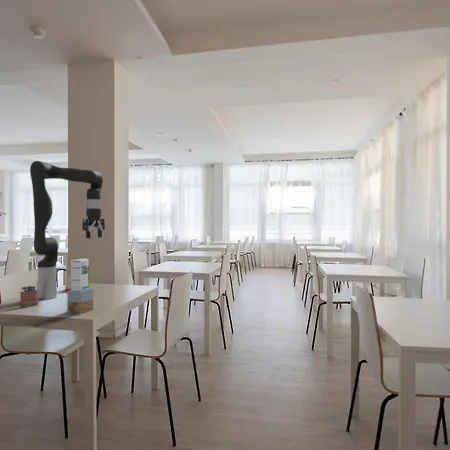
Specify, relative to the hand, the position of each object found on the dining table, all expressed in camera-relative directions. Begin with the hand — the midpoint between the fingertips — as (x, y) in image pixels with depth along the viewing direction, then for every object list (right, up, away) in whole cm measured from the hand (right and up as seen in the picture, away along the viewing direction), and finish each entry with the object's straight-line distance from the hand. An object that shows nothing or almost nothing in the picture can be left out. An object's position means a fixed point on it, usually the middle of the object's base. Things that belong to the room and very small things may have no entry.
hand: (94, 238), depth 197 cm
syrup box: (+2, -24, -25) cm, 35 cm away
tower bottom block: (+2, -34, -25) cm, 42 cm away
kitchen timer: (-21, -33, +30) cm, 49 cm away
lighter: (-27, -34, -14) cm, 46 cm away
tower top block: (+3, -29, -25) cm, 38 cm away
